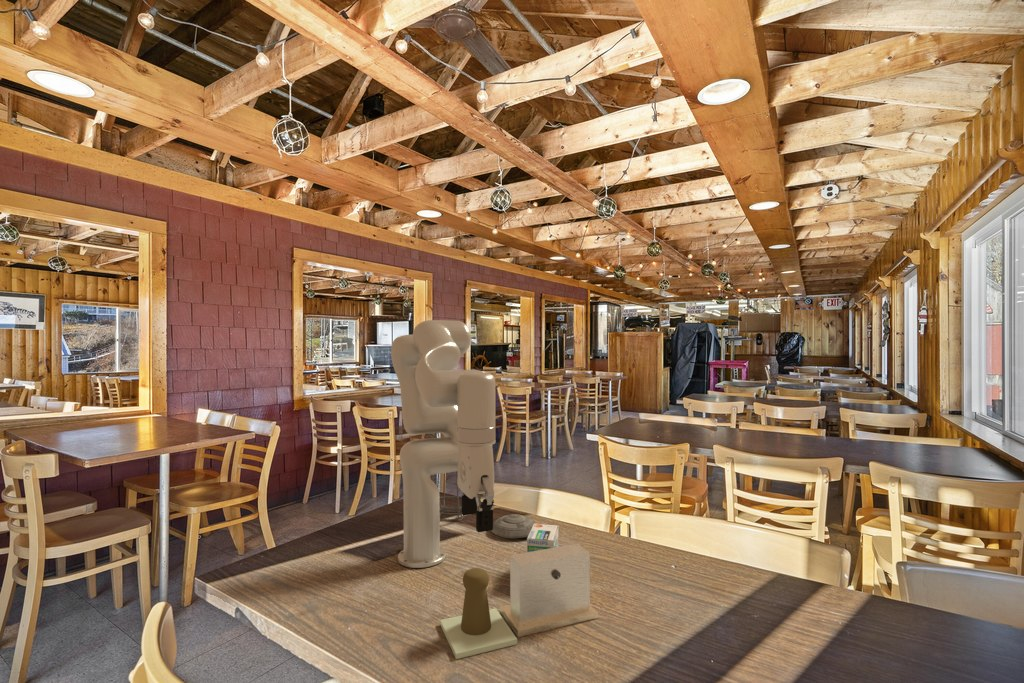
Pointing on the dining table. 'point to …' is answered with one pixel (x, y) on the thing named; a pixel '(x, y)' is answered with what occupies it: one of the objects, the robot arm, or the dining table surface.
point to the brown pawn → (475, 603)
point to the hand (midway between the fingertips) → (476, 522)
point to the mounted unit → (549, 589)
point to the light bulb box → (543, 537)
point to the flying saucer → (513, 526)
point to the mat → (477, 636)
